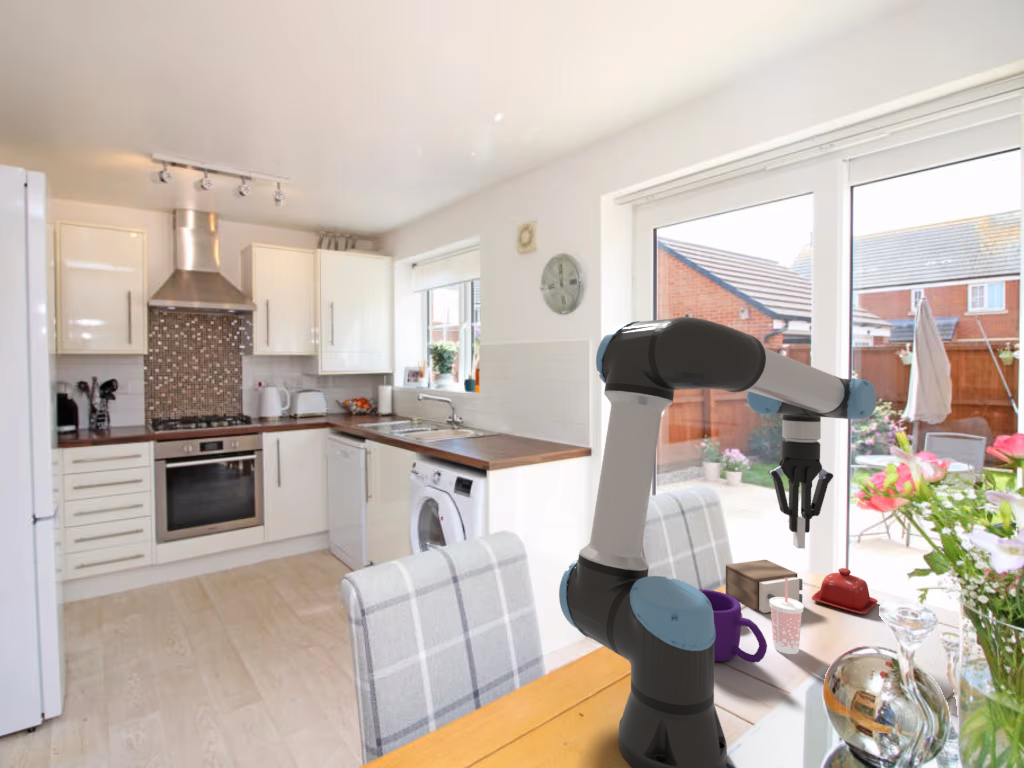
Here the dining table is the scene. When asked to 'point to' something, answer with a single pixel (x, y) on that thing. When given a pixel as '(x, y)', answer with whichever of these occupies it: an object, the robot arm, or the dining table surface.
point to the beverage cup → (786, 622)
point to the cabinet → (752, 580)
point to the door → (778, 591)
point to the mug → (732, 628)
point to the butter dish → (845, 592)
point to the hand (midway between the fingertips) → (798, 546)
